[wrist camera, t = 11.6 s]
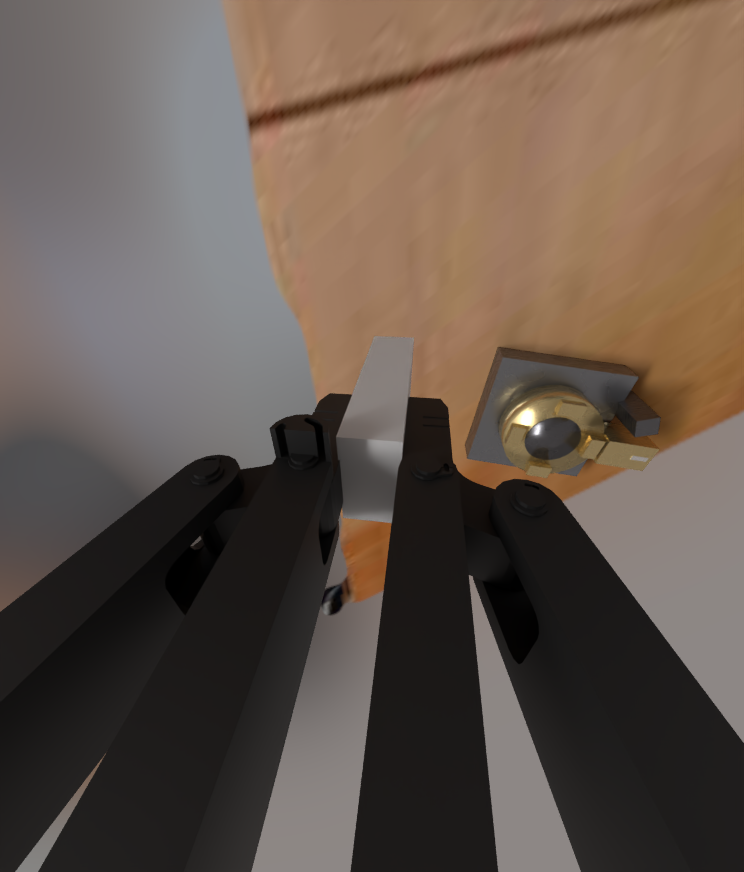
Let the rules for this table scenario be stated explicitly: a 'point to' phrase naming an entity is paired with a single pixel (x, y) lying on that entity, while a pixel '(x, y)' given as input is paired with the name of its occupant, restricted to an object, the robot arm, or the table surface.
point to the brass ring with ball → (566, 434)
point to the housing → (532, 370)
